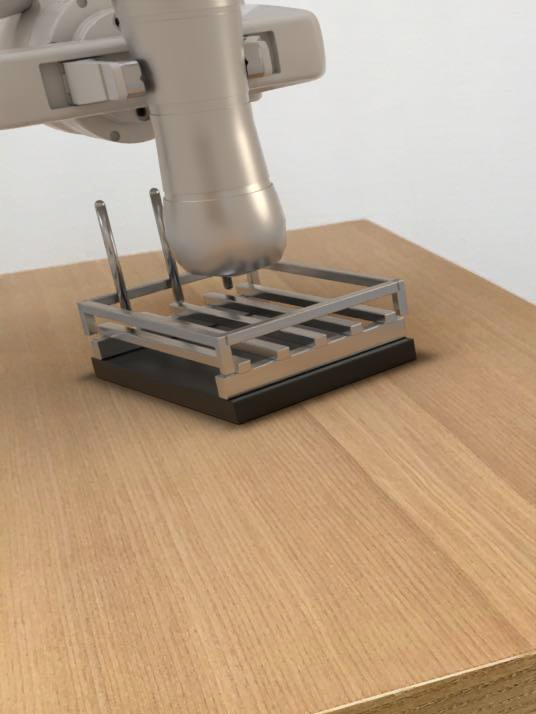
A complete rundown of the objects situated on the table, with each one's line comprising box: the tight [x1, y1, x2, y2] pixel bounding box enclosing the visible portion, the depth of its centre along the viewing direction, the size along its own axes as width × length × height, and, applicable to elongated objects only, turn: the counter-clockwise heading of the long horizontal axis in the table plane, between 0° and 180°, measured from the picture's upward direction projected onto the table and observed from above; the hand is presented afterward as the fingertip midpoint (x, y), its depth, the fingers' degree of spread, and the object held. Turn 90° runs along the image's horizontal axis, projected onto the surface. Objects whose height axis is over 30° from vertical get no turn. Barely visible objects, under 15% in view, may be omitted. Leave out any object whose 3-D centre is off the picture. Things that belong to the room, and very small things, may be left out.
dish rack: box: [76, 187, 417, 425], centre depth 70 cm, size 16×12×10 cm
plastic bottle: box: [111, 0, 288, 278], centre depth 65 cm, size 6×7×20 cm
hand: (196, 70), depth 64 cm, fingers closed on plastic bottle, 6 cm apart
